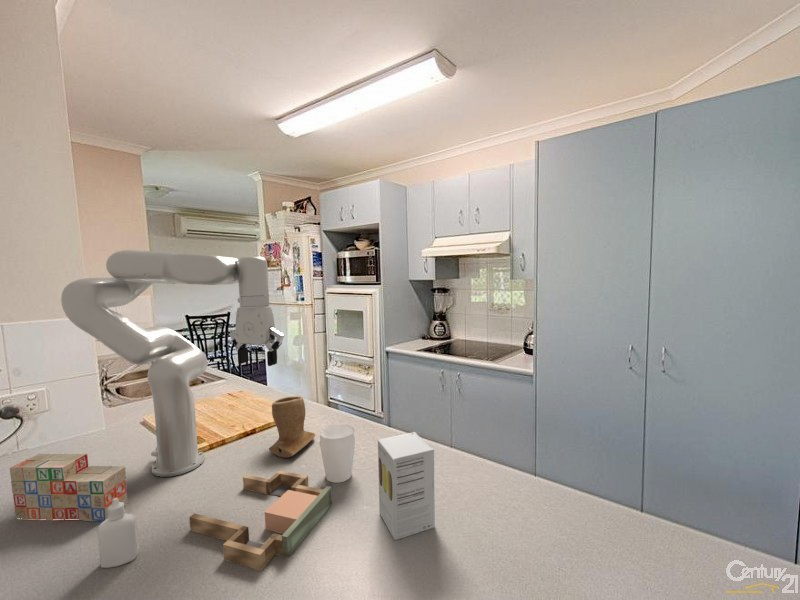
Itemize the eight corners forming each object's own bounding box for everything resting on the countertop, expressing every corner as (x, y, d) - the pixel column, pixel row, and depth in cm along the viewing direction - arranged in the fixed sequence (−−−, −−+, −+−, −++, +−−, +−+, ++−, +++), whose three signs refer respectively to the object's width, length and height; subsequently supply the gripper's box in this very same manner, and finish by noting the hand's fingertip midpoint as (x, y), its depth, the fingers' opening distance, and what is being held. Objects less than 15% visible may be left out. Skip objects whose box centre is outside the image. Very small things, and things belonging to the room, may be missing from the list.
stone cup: (288, 434, 120) (286, 390, 119) (320, 438, 116) (318, 392, 115) (257, 456, 105) (255, 406, 104) (293, 462, 102) (290, 410, 101)
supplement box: (378, 512, 79) (376, 438, 78) (416, 501, 83) (414, 430, 82) (394, 542, 71) (392, 459, 69) (436, 527, 74) (435, 448, 73)
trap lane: (172, 544, 71) (171, 525, 71) (258, 477, 94) (257, 462, 94) (274, 574, 64) (273, 553, 63) (340, 493, 87) (339, 477, 86)
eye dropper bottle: (117, 550, 70) (112, 491, 69) (143, 551, 69) (138, 492, 69) (96, 568, 66) (90, 505, 65) (124, 570, 65) (118, 507, 64)
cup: (349, 487, 89) (347, 440, 88) (315, 484, 91) (313, 437, 90) (360, 468, 98) (359, 425, 97) (329, 465, 100) (327, 423, 99)
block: (265, 530, 75) (264, 512, 75) (289, 506, 83) (288, 489, 82) (298, 538, 73) (297, 519, 72) (319, 513, 80) (318, 496, 80)
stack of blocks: (129, 504, 85) (124, 453, 84) (105, 522, 78) (100, 468, 77) (43, 502, 86) (38, 452, 85) (14, 520, 80) (8, 466, 79)
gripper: (218, 303, 98) (222, 365, 99) (272, 303, 92) (275, 369, 94) (239, 300, 105) (242, 358, 106) (289, 301, 99) (292, 362, 101)
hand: (257, 363), depth 100 cm, fingers open, 9 cm apart
